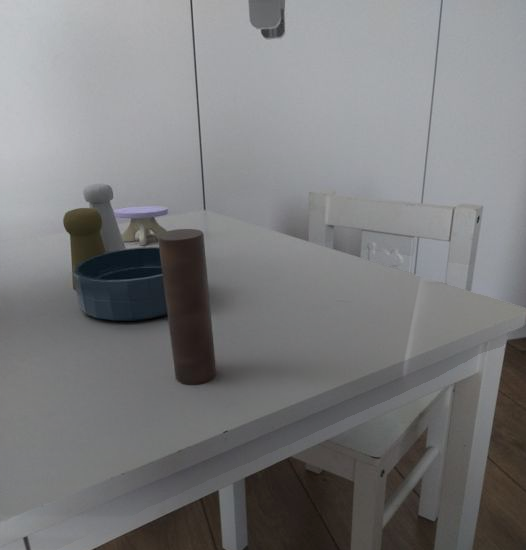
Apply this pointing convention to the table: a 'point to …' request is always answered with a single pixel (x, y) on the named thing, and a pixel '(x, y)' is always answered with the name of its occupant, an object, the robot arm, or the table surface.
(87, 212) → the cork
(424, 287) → the table surface
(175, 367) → the brown wooden cylinder
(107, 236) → the salt shaker
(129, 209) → the toy table
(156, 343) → the table surface
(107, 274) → the bowl
